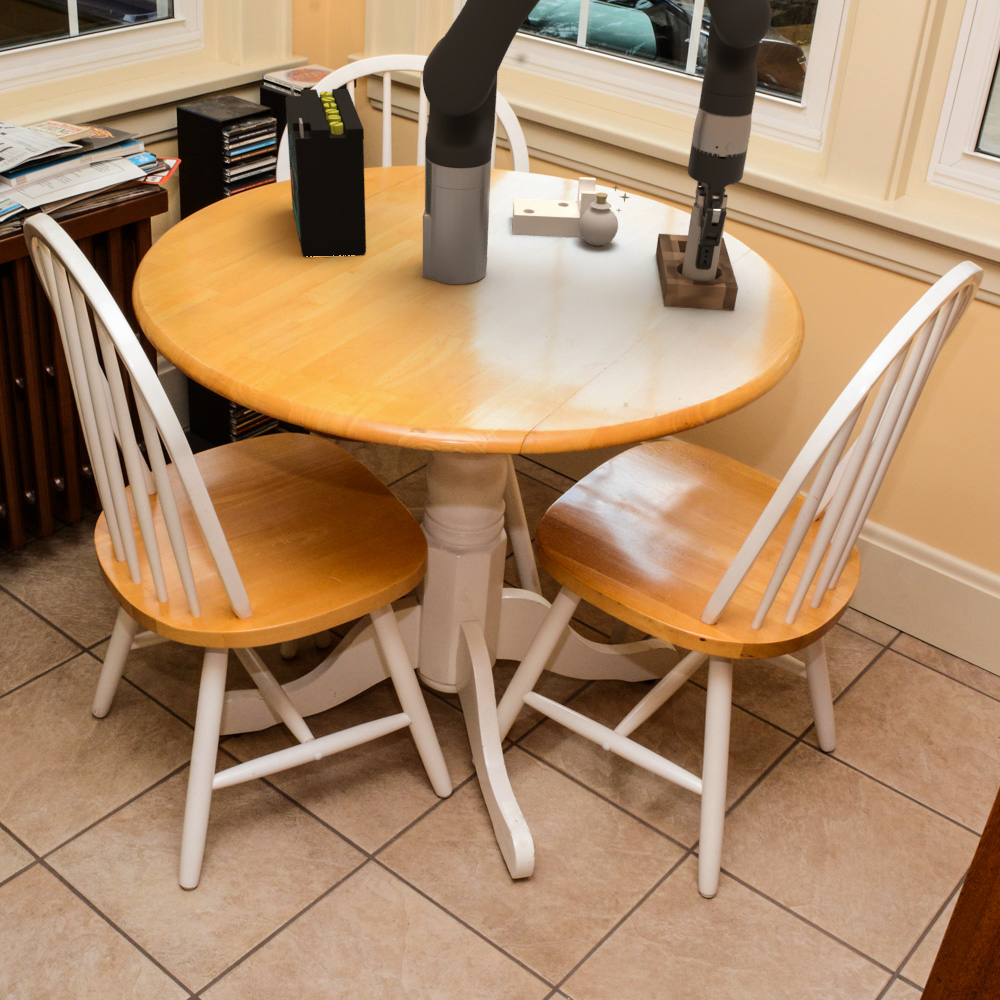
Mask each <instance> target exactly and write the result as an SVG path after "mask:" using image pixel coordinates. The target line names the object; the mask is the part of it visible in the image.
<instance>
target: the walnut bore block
mask: <svg viewBox="0 0 1000 1000" xmlns="http://www.w3.org/2000/svg"><path fill="white" fill-rule="evenodd" d="M687 238H688V234H685V235H684V234H670V233H669V234H667V233H658V236H657V243H656V250H655V259H656V265H657V271H658V277H659V283H660V289H661V290H660V291H661V295H662V301H663V306H664V307H669V308H670V307H671V308H672V307H673V308H690V309H703V310H719V311H733V312H734V311H735V307H736V301H737V296H738V292H739V290H738V289H739V286H738V282H737V279H736V277H735V276H736V275H735V272H734V269H733V265H732V263H731V259H730V255H729V253H728V248H727V245H726V241H725V238H724V237H722V242H721V248H720V253H719V259H718V265H717V271H716V276H715V280H710V281H701V280H693V279H690V278H686V277H684V276H682V270H683V264H684V257H685V251H686V244H687Z"/></svg>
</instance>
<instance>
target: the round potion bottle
mask: <svg viewBox="0 0 1000 1000" xmlns="http://www.w3.org/2000/svg"><path fill="white" fill-rule="evenodd" d="M611 188H613V189H614V191H615V192H616V191H617V189H620V187H619V186H617V184H615V186H612V187H611ZM596 197H597V200H596V201H594V202H592V203H591V204H590V205H591V206H592V207H591V208H589V209H588V210H587V211H585V213H584V214H583V215H582V217H581V219H580V224H579V229H580V233H581V235H582V237H583V238H582V239H584V241H585V242H587V243H588V244H590V245H593V246H599V247H600V246H604V245H607V244H609V243H610V242H611V241H613V239H615V237H616V235H617V232H618V229H619V221H618V218H617V216H616V214H615V212H614V211H612V210H611V209H610V208H612V204H611V203H609V202H608V201H607V198H608V194H607V193H605V192H598V193H597V194H596ZM619 198H622V199H623V202H624V203H625V201H626V199H631V196H630V197H629V196H627V192H626V191H625V192H624V195H622V196H619ZM616 211H617V212H618V213H620V211H622V209H620V208H618V209H616Z"/></svg>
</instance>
